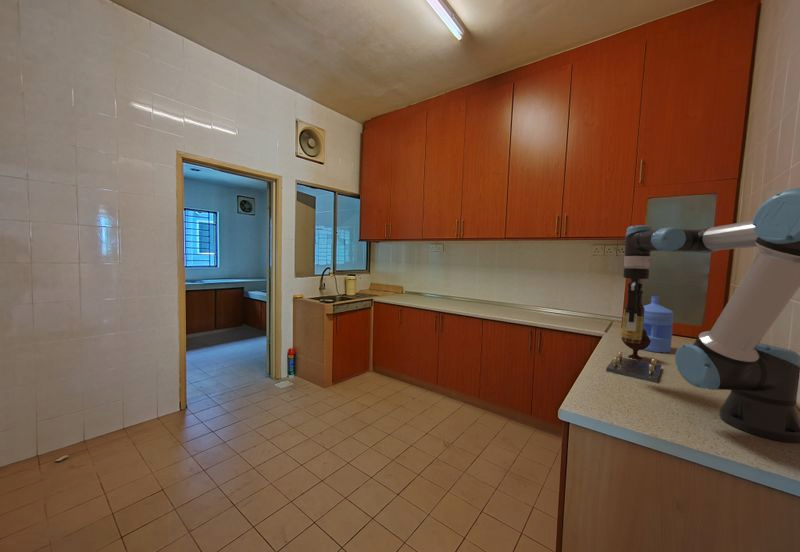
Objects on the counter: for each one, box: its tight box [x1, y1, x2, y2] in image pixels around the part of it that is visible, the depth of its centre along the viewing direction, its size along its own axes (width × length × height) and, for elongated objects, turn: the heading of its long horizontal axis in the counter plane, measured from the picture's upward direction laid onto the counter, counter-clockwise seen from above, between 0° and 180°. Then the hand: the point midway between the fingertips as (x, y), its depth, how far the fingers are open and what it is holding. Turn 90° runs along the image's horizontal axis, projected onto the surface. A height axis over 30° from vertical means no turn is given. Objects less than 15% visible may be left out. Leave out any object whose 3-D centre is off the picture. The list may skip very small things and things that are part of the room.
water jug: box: [643, 295, 675, 354], centre depth 162 cm, size 16×16×28 cm
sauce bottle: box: [620, 289, 644, 344], centre depth 115 cm, size 7×6×20 cm
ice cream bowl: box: [622, 329, 651, 361], centre depth 145 cm, size 11×11×15 cm
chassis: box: [605, 351, 662, 384], centre depth 129 cm, size 22×16×5 cm
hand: (632, 329), depth 115 cm, fingers closed on sauce bottle, 6 cm apart
